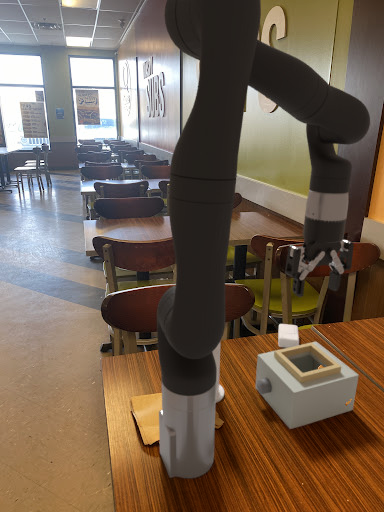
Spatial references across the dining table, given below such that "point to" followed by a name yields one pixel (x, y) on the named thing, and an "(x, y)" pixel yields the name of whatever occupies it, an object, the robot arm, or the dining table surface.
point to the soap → (288, 335)
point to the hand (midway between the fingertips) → (315, 292)
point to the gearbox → (305, 383)
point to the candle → (218, 387)
